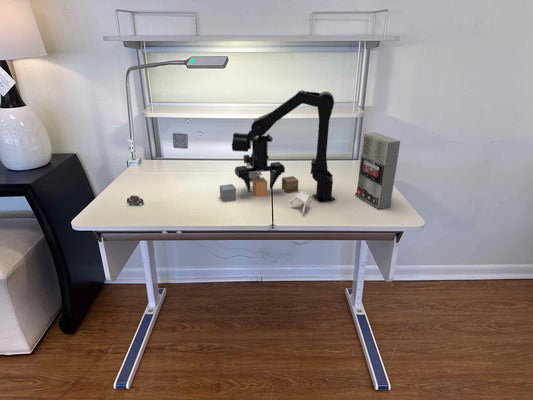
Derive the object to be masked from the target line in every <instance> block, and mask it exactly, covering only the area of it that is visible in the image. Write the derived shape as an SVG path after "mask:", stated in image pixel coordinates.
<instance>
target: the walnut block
mask: <svg viewBox="0 0 533 400" xmlns="http://www.w3.org/2000/svg"><path fill="white" fill-rule="evenodd" d="M281 189H282V190H283V191H284V192H285V193H286V194H291V193H297V192H299V179H298V178H297V177H295V176H293V175H292V176H285V177H284V176H283V177H281Z"/></svg>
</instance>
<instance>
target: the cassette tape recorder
mask: <svg viewBox="0 0 533 400" xmlns="http://www.w3.org/2000/svg"><path fill="white" fill-rule="evenodd" d="M400 145H401V141H400V140H398V139H395V138H392V137H389V136H386V135H384V134H381V133H378V132H367V133H366V132H364V133H363V136H362V145H361V153H360V161H359V171H358V177H357V178H358V181H357V187H356V192H354V195H355V196H356V198H359V199H360V200H362V201H364V202H366V203H367V204H369V205H370V206H372V207H374V208H376V209H377V210H380V209H385V208H390V207H391V205H392V198H393V197H392V196H393V191H394V183H395V178H396V177H395V176H396V171H397V164H398V158H399V151H400Z"/></svg>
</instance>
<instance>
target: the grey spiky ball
mask: <svg viewBox="0 0 533 400" xmlns="http://www.w3.org/2000/svg"><path fill="white" fill-rule="evenodd" d="M245 164H246V166H245V165H244V166H245V167H246V168H253V167H251V166H250V165H249V164H248V163H245ZM262 175H263V174H262V172H256V173H249V177H250V180H251V182H253V179H257V178H260V176H262Z"/></svg>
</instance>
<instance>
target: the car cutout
mask: <svg viewBox="0 0 533 400" xmlns="http://www.w3.org/2000/svg"><path fill="white" fill-rule="evenodd" d="M126 204H127V208H129V206H135V207H137V206H139V208H141V207H143V205H145V203H144V199H143V198H140V196H139V195H130V196H129V197H128V198H127V199H126Z"/></svg>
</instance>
